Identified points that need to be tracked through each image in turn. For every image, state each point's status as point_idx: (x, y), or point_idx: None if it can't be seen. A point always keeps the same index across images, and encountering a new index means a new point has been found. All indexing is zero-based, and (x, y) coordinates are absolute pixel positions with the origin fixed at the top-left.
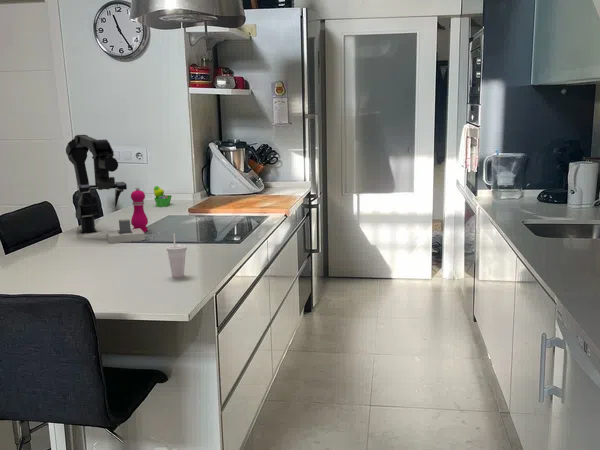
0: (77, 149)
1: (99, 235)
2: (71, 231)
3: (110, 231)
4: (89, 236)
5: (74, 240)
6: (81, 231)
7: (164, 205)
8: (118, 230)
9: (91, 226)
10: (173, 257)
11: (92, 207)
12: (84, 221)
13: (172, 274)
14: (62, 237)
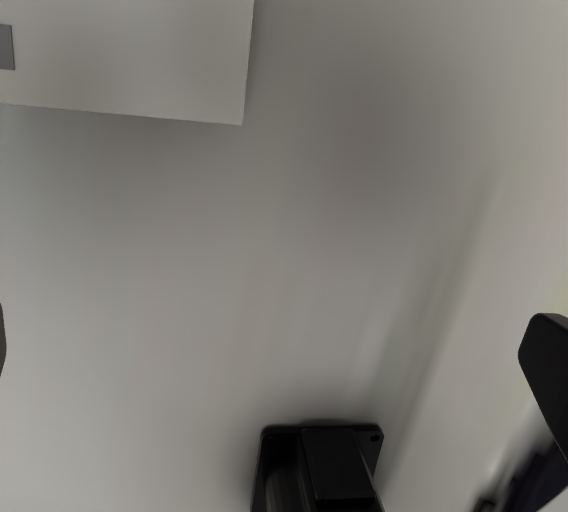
0: None
1: (271, 282)
2: (416, 506)
3: (196, 66)
4: (362, 279)
5: (529, 164)
6: (376, 448)
7: None
8: (81, 81)
9: (313, 459)
10: None
11: (562, 317)
12: (380, 509)
13: None
14: None
